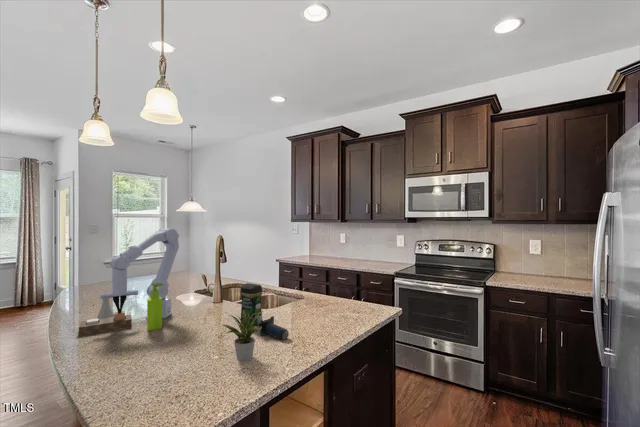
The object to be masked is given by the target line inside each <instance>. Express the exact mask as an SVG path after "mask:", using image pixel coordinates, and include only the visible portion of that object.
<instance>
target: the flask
mask: <svg viewBox="0 0 640 427" xmlns="http://www.w3.org/2000/svg"><path fill="white" fill-rule="evenodd" d="M101 300H102V303H101V307H100V309H99V312H98V313H97V316H96V319H97V318H99V319H102V318H109V317H114V314H115V311H114V310H113V308H112V306H111V303H110V298H105V299H101Z"/></svg>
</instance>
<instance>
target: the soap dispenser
mask: <svg viewBox="0 0 640 427" xmlns="http://www.w3.org/2000/svg"><path fill="white" fill-rule="evenodd" d="M151 283H152V282H151ZM151 283H150V285H153V290H152V291H151V298H149V297H148V298H147V299H146V303H147V306H146V308H147V310H146V311H147V314H146V317H147V319H146V320H147V322H146V324H147V326H146V327H147V328H146V330H148V331H157V330H160V329H162V328H163V318H162V297H159V290H157V285H159V286H161V285H164V284H162V283H152V284H151Z"/></svg>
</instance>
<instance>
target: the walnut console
mask: <svg viewBox="0 0 640 427" xmlns="http://www.w3.org/2000/svg"><path fill="white" fill-rule="evenodd" d="M132 320H133V319H132V314H131V313H130V314H125V319H123V320H116V321H114V317H109V318H102V319H99V323H96V324H90V325H87V320H83V321H80V323H79V326H78V337H80V336H85V335H91V334H98V333H104V332H106V333H107V332H110V331H111V330H112V331H116V330H117V329H118V330H123V329H129V328H130V329H131V328H132V326H133V324H132V323H133V322H132Z"/></svg>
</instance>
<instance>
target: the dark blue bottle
mask: <svg viewBox="0 0 640 427" xmlns="http://www.w3.org/2000/svg"><path fill="white" fill-rule="evenodd" d="M257 327H258V328H259V335H260V336H261V337H263V336H265V335H267V334H268V335H270V336H272V337H273V338H275V339H279V340H281V341H285V340H287V339H288V337H289V331H288V329H287V328H285V327H282V326H280V325H277V324H275V316H270V317H269V318H267V319H265V320H264V319H262V320H261V323H259V324H258V326H257Z"/></svg>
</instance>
